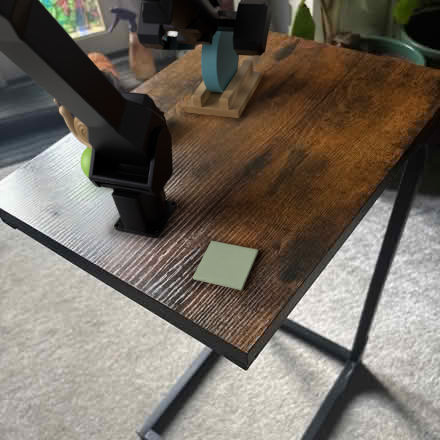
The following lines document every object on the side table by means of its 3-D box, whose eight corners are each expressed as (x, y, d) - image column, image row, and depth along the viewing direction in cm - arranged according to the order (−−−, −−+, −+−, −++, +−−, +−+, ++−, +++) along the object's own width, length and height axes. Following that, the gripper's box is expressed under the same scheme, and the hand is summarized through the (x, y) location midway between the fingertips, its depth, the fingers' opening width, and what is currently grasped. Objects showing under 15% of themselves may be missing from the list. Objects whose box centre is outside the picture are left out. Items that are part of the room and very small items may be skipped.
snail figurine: (98, 162, 69) (68, 85, 60) (132, 171, 67) (107, 93, 57) (75, 184, 67) (40, 108, 57) (110, 195, 64) (80, 117, 55)
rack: (238, 118, 72) (237, 100, 70) (186, 112, 75) (183, 95, 72) (261, 78, 78) (260, 60, 76) (212, 74, 81) (210, 57, 79)
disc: (220, 105, 73) (213, 40, 65) (206, 104, 73) (196, 39, 65) (241, 73, 78) (236, 8, 70) (227, 72, 79) (221, 8, 71)
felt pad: (241, 290, 52) (241, 288, 51) (193, 279, 53) (192, 277, 53) (258, 251, 55) (258, 249, 54) (211, 242, 57) (211, 240, 56)
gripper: (265, -75, 52) (290, -8, 67) (122, -72, 58) (174, -11, 72) (247, 31, 54) (276, 73, 69) (111, 23, 60) (164, 64, 74)
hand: (221, 47), depth 71 cm, fingers open, 9 cm apart
